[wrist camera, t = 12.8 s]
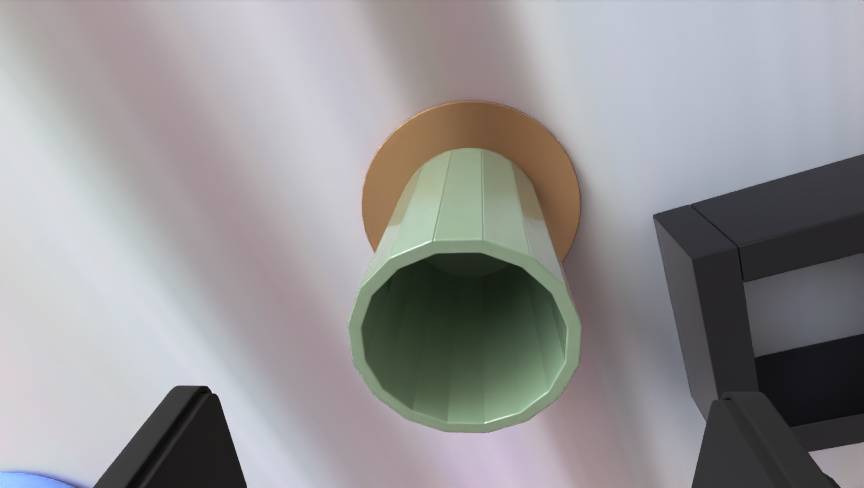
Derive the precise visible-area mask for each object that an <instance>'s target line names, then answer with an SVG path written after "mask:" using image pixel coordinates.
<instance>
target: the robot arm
mask: <svg viewBox="0 0 864 488" xmlns="http://www.w3.org/2000/svg"><path fill="white" fill-rule="evenodd" d="M93 488H247V485H246V482H245V479H244V475H243V472H242V469H241V466H240V463H239V460H238V457H237V453H236V450H235V447H234V444H233V441H232V438H231V435H230V432H229V428H228V425H227V422H226V419H225V416H224V413H223V410H222V406H221V403H220V400H219V398H218V396H217V395H216V394H212V392H211V390H210V389H209V388H208V387H207V386H176V387H174V388H173V389H172V390H171V391H170V392H169V393H168V394H167V396H166V397H165V398H164V399H163V401H162V402H161V403H160V404H159V406H158V407H157V408H156V409H155V411H154V412H153V413H152V414H151V416H150V417H149V418H148V419H147V421H146V422H145V423H144V424H143V426H142V427H141V428H140V429H139V431H138V432H137V433H136V434H135V436H134V437H133V438H132V439H131V441H130V442H129V443H128V444H127V446H126V447H125V448H124V449H123V451H122V452H121V453H120V454H119V456H118V457H117V458H116V459H115V461H114V462H113V463H112V464H111V466H110V467H109V468H108V469H107V471H106V472H105V473H104V474H103V476H102V477H101V478H100V479H99V481H98V482H97V483H96V484H95V486H94V487H93ZM692 488H841V487H840V486H839V485H838V484H837V483H836V482H835V481H834V480H833V479H832V478H831V477H829V476H828V475H826V474H825V473H823V472H822V471H821V469H820V468H819V467H818V465H817V464H816V463H815V461H814V460H813V459H812V457H811V456H810V454H809V453H808V452H807V450H806V449H805V448H804V446H803V445H802V444H801V442H800V441H799V440H798V438H797V437H796V435H795V434H794V433H793V431H792V430H791V429H790V427H789V426H788V425H787V423H786V422H785V421H784V419H783V418H782V416H781V415H780V414H779V412H778V411H777V410H776V408H775V407H774V406H773V404H772V403H771V402H770V400H769V399H768V398H767V397H766V396H765V395H764V394H763V393H761V392H732V391H728V392H724V393H723V394H722V396H721V398H720V400H713V401H712V403H711V406H710V411H709V415H708V419H707V424H706V428H705V432H704V436H703V441H702V445H701V449H700V454H699V458H698V462H697V466H696V471H695V475H694V479H693V483H692Z"/></svg>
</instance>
